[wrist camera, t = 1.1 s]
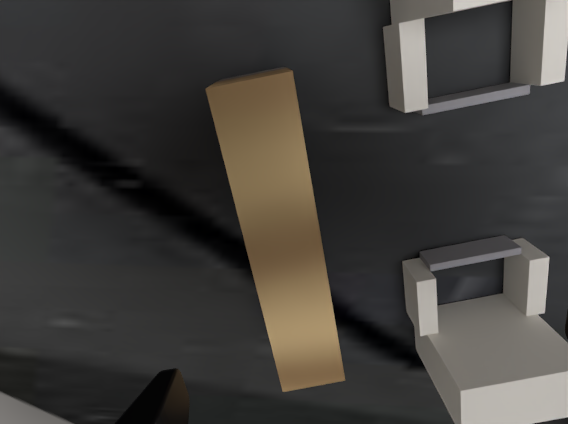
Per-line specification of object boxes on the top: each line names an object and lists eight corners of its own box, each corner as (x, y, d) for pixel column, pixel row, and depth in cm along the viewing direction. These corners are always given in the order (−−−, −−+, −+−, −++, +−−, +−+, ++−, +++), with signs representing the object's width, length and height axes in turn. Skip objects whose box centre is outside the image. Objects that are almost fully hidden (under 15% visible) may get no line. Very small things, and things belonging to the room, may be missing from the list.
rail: (328, 314, 23) (345, 380, 18) (278, 324, 23) (282, 391, 18) (284, 66, 18) (292, 70, 13) (220, 79, 18) (205, 88, 13)
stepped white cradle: (517, 330, 24) (594, 412, 19) (409, 350, 24) (453, 438, 19) (539, -87, 16) (687, -161, 10) (376, -52, 16) (436, -108, 11)
